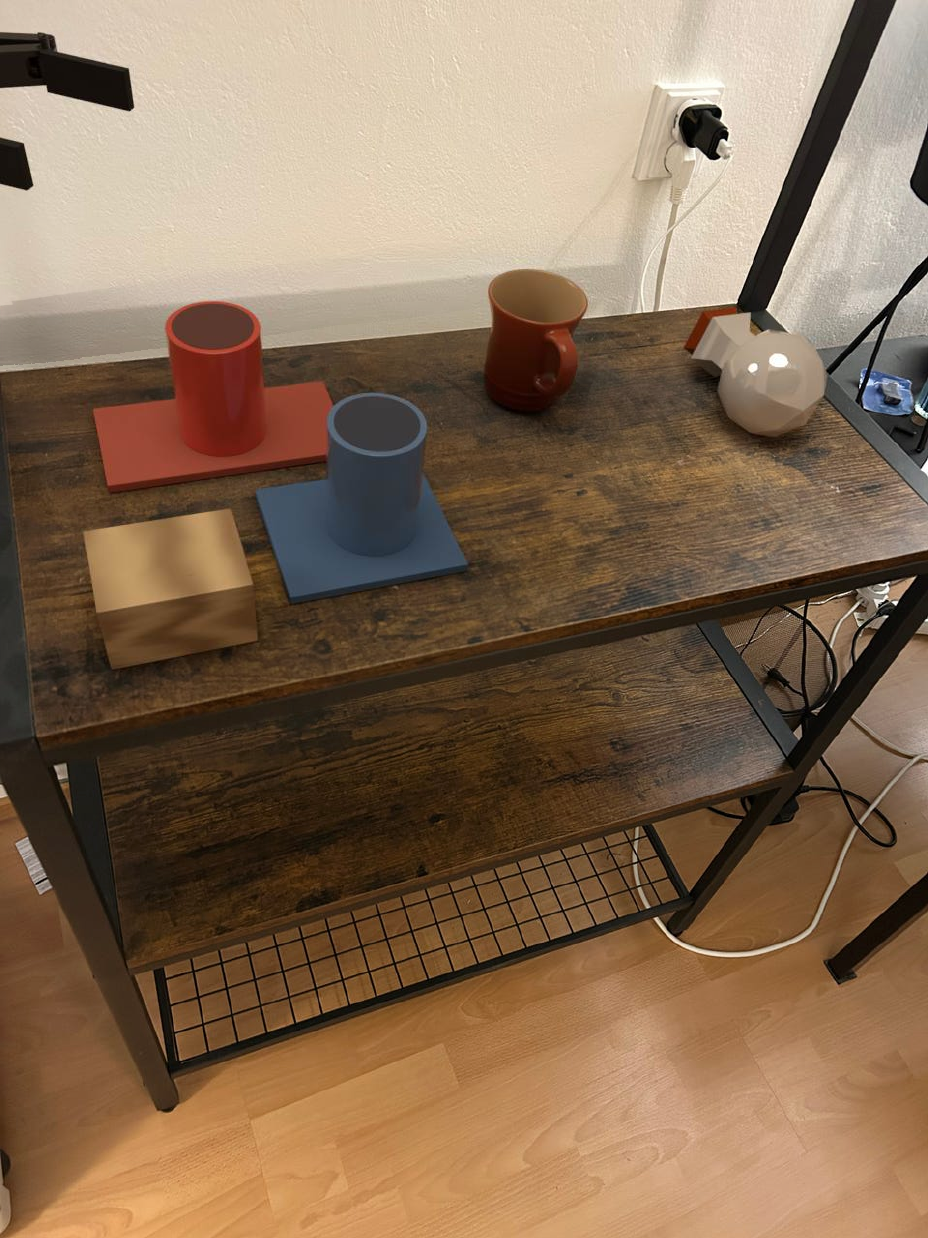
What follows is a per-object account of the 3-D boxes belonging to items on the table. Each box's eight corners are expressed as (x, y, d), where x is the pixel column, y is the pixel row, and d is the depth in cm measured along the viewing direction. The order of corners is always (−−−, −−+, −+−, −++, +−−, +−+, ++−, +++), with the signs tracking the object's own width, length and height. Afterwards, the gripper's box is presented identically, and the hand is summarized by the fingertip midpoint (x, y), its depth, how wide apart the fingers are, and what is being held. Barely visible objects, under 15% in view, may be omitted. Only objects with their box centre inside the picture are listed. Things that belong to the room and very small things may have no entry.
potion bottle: (770, 474, 90) (686, 394, 100) (860, 409, 89) (765, 334, 99) (743, 412, 83) (656, 332, 93) (839, 339, 82) (740, 267, 92)
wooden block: (111, 670, 66) (96, 612, 61) (98, 590, 70) (83, 531, 66) (258, 641, 69) (253, 584, 64) (236, 565, 73) (230, 507, 69)
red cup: (187, 462, 79) (173, 357, 72) (172, 408, 83) (157, 304, 76) (274, 450, 81) (269, 347, 74) (256, 398, 86) (250, 296, 78)
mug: (460, 371, 93) (473, 273, 85) (542, 360, 96) (562, 264, 88) (509, 450, 86) (528, 351, 78) (596, 435, 89) (622, 338, 81)
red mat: (109, 493, 77) (107, 485, 76) (94, 416, 83) (92, 408, 82) (352, 457, 83) (352, 450, 82) (322, 387, 89) (322, 380, 88)
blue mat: (290, 604, 72) (290, 597, 71) (255, 496, 79) (254, 489, 78) (467, 571, 76) (468, 563, 75) (418, 471, 83) (419, 464, 82)
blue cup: (339, 563, 74) (342, 462, 66) (316, 500, 78) (315, 398, 70) (429, 547, 76) (441, 447, 68) (401, 487, 80) (409, 386, 73)
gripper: (-74, 57, 78) (170, 114, 77) (-315, 187, 62) (-11, 264, 60) (-105, -52, 73) (158, 7, 71) (-378, 60, 57) (-46, 141, 55)
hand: (81, 126), depth 66 cm, fingers open, 13 cm apart
